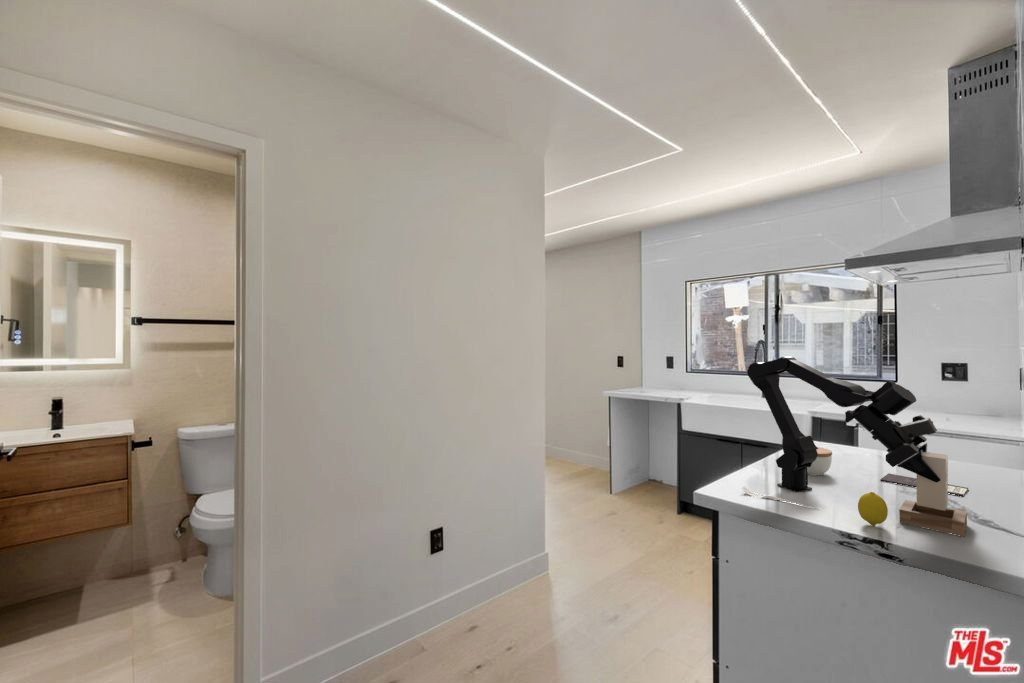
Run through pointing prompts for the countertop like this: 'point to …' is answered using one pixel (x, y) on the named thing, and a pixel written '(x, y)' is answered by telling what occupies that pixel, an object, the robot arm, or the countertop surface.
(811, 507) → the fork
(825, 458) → the lidded jar
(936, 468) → the clay bar
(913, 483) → the chocolate bar
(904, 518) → the tray
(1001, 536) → the countertop surface
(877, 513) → the lemon
